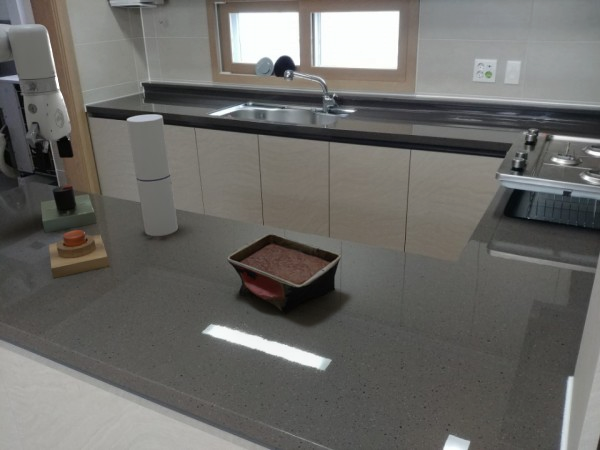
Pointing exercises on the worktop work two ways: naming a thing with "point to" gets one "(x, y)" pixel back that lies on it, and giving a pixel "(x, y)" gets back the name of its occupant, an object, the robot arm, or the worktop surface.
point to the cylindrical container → (153, 174)
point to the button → (74, 238)
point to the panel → (67, 215)
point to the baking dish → (284, 270)
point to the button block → (78, 257)
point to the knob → (64, 197)
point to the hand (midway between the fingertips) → (56, 163)
